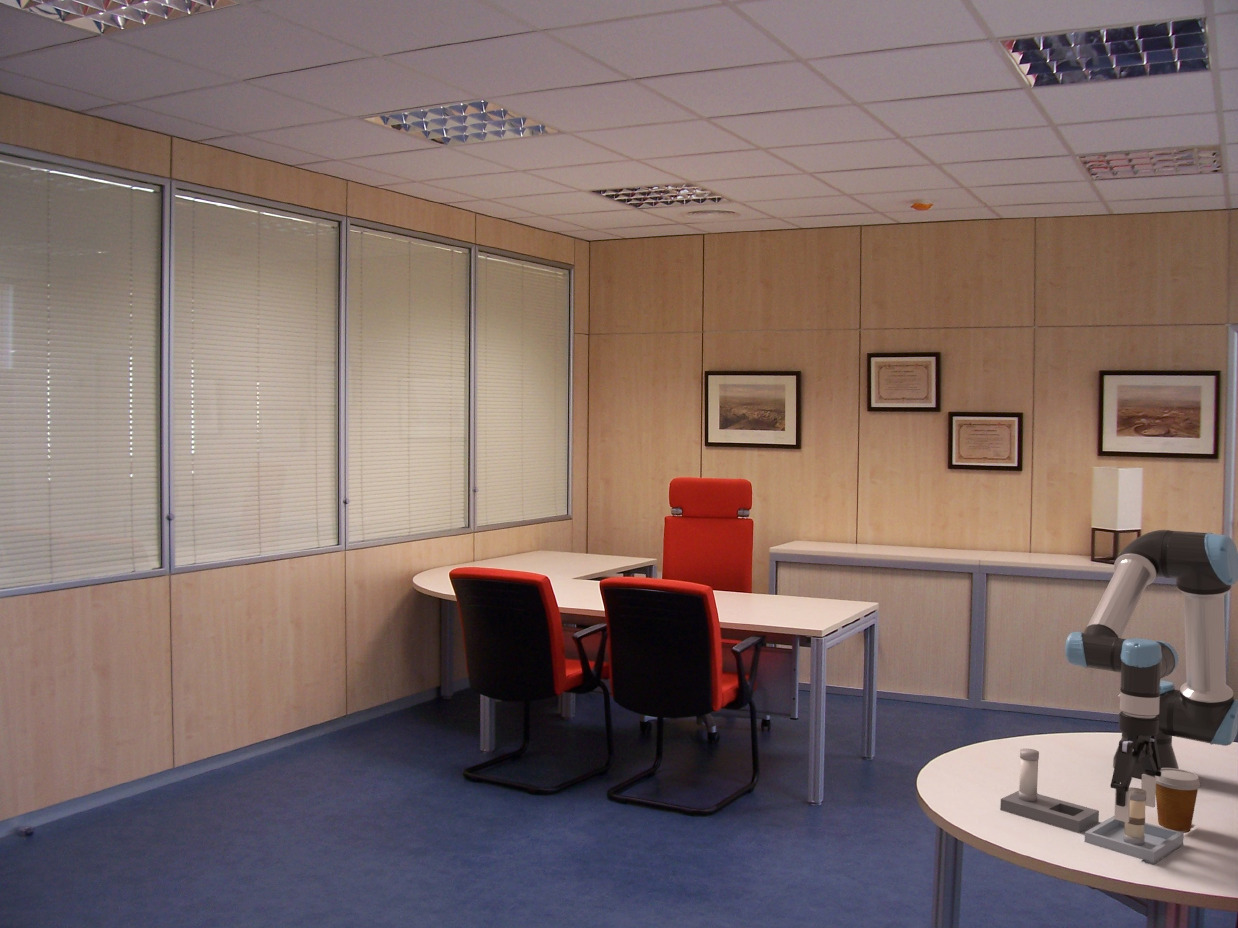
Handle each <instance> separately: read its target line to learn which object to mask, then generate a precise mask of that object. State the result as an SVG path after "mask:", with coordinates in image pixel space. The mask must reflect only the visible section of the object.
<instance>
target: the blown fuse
mask: <svg viewBox="0 0 1238 928" xmlns="http://www.w3.org/2000/svg"><path fill="white" fill-rule="evenodd" d="M1128 790H1129V791H1130V815H1129V822H1128V823H1127V822H1125V829H1124V842H1126V843H1129V844H1133V845H1137V846H1141V845H1144V843H1145V835H1144V829H1145V823H1146V805H1145V804H1146V793H1147V792H1146V791H1145V790H1143V789H1141V788H1139V787H1130V786H1129V789H1128Z"/></svg>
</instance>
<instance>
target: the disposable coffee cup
mask: <svg viewBox="0 0 1238 928" xmlns="http://www.w3.org/2000/svg"><path fill="white" fill-rule="evenodd" d="M1160 772H1161V776H1160V777H1159V776H1155V777H1156V796H1155V804H1156V812H1157V822H1158V826H1160V827H1164V828H1167V829H1171V830H1174V831H1178V832H1183V833H1189V832H1191V828H1192V823H1193V819H1194V818H1193V817H1194V811H1195V806H1196V802H1197V797H1198V791H1199V789H1200V786H1201V781H1200V778H1199V777H1200V776H1198V775H1197V774H1195V773H1194V772H1192V771H1188V770H1185V769H1182V768H1179V769H1175V768H1161V770H1160Z"/></svg>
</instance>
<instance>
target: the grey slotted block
mask: <svg viewBox="0 0 1238 928" xmlns="http://www.w3.org/2000/svg"><path fill="white" fill-rule="evenodd" d="M1019 757H1020V760H1019V787H1018V788H1019V789H1018V790H1017V791H1015V792H1012V793H1011V794H1009V795H1006V796H1004V797H1002V798H1000V807H999V808H1000V811H1003V812H1005V813H1008V814H1013V815H1016V816H1018V817H1019V816H1020V817H1023V818H1027V819H1031V820H1033V821H1036V822H1040V823H1043V824H1047V825H1050V826H1053V827H1056V828H1060V829H1064V830H1067V831H1071V832H1074V833H1077V834H1079V833H1081V832H1083V831H1085V830H1087V829H1088V828H1090V827H1092V826H1095V825H1096V824H1098V823H1100V822H1099V815H1100V810H1098V809H1094V808H1090V807H1087V806H1083V805H1080V804H1076V803H1073V802H1069V801H1065V800H1061V799H1058V798H1053V797H1051V796H1049V795H1048V796H1047V795H1043V794H1040V793H1038V781H1039V780H1038V778H1039V776H1038V775H1039V759H1040V751H1039V750H1036V749H1033V748H1020V751H1019Z"/></svg>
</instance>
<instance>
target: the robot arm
mask: <svg viewBox="0 0 1238 928" xmlns="http://www.w3.org/2000/svg"><path fill="white" fill-rule="evenodd" d="M1113 569H1114V572H1113V575H1112V577H1111V579H1110V581H1109V583H1108V585H1107V587H1106V589H1105V590H1104V592H1103V594H1102V596H1101V599H1100V600H1099V603H1098V604H1097V606H1096V609H1095V610H1094V612H1093V614H1092V616H1091V618H1090V620H1089V622H1088V623H1087V626H1086V628H1085V630H1084V631H1083V632H1082V631H1073V632H1071V633H1069V634H1068V636H1067V638H1066V640H1065V646H1064V651H1065V652H1064V653H1065V659H1066V660H1067V662H1068V663H1069V664H1071V665H1075V666H1078V667H1083V668H1086V669H1087V668H1089V669H1095V670H1100V671H1101V670H1102V671H1109V672H1116V673H1120V687H1119V689H1120V690H1119V691H1120V692H1119V694H1118V695H1117V698H1119V710H1120V712H1119V714H1118V716H1119V717H1118V729H1119V730H1120V731H1121V738H1120V740H1119V742H1118V746H1117V749H1116V751H1115V754H1114V755H1113V760H1112V763H1113V765H1112V766H1113V768H1114V769H1113V773H1112V777H1111V782H1110V788H1111V789H1114V790H1115V793H1114V794H1115V795H1114V816H1115V817H1114V819H1116V820H1120V821H1123V822H1127V823H1128V822H1129V815H1130V791H1129V790H1128V789H1129V787H1130V785H1131V783H1132V780H1133V777H1134V778H1138V779H1141V786H1140V787H1141V788H1140V789H1143V790H1145V791H1146V792H1147V793H1146V804H1145V807H1150V808H1155V807H1156V777H1155V776H1159V777H1160V776H1161V772H1160V770H1161V768H1175V769H1180V768H1179V764H1178V761H1177V756H1176V755H1175V750H1174V747H1173V737H1175V738H1179V739H1180V738H1181V739H1186V740H1190V741H1196V742H1200V743H1201V742H1202V743H1205V744H1210V745H1218V746H1225V747H1226V746H1227V747H1228V746H1230V745H1231V744H1233V743H1234V740H1235V739H1236V738H1237V735H1238V699H1237V698H1234V690H1233V689H1232V688H1231V687H1230V686H1229V685H1228V684H1227V676H1226V675H1227V673H1226V672H1227V669H1226V666H1227V665H1226V662H1227V661H1226V631H1225V629H1226V628H1225V627H1226V626H1225V623H1226V622H1225V621H1226V620H1225V595H1226V594H1228V593H1229V592H1230V591H1231V589H1232V586H1233V585H1235V584H1237V582H1238V548H1237V546H1236V544H1235V542H1234V540H1233V539H1232V538H1231V537H1230V536H1228V535H1226V534H1218V533H1214V532H1200V531H1197V532H1196V531H1185V530H1184V531H1180V530H1170V529H1159V530H1158V529H1156V530H1153V531H1150V532H1147V533H1145V534H1142V535H1140V536H1138V537H1136V538H1135V539H1134V540H1132V541H1130V542H1129V543H1128V544H1127V545H1126V546H1125V547H1123V549H1122V550H1121V551H1120V552H1119V553H1118V555H1117V557H1116V559H1115V561H1114V564H1113ZM1156 578H1165V579H1173V580H1174V579H1175V582H1176V583H1175V584H1176V589H1177V590H1178V591H1179V592H1180V593H1182V594H1183V612H1184V643H1185V647H1184V648H1185V671H1186V673H1185V674H1186V675H1185V676H1186V682H1184V683H1183V684H1181V686H1180V687H1179V689H1176V686H1175V684H1174V682H1172V681H1167V680H1161V679H1163V678H1165V677H1168V676H1169V675H1171V674H1172V673H1173V672H1174V670H1176V669H1177V667H1178V664H1179V661H1180V660H1179V659H1180V658H1179V654H1178V652H1177V650H1176V649H1175V647H1174V646H1173V645H1171V644H1170V643H1168V642H1166V641H1163V640H1153V639H1146V638H1136V637H1135V638H1134V637H1133V638H1122V637H1123V635H1124V633H1125V631H1126V629H1127V626H1128V625H1129V622H1130V620H1131V618H1132V617H1133V614H1134V612H1135V611H1136V608H1137V606H1138V605H1139V602H1140V600H1141V598H1142V596H1143V594H1144V592H1145V590H1146V588H1147V586H1149V585H1151V584H1153V582H1154V581H1155V580H1156Z"/></svg>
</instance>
